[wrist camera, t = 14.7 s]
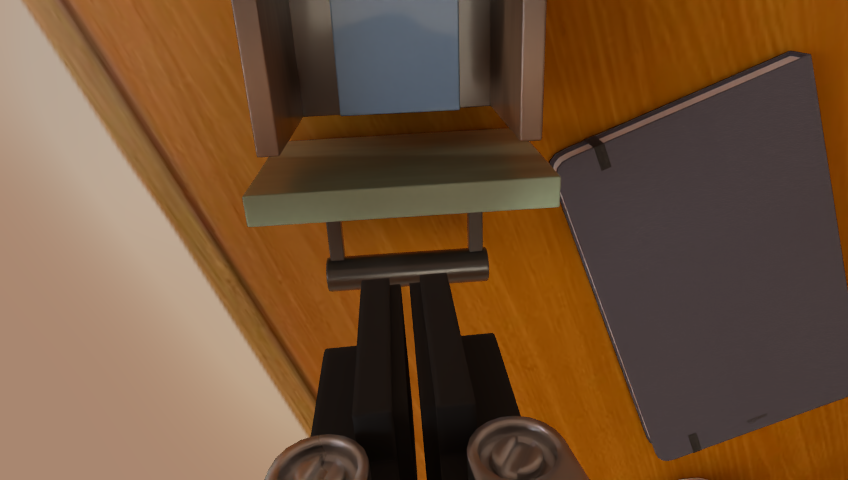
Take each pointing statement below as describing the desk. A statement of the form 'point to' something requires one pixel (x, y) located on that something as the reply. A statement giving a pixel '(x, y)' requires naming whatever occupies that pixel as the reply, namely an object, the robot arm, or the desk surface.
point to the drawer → (394, 138)
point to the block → (396, 55)
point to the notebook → (716, 255)
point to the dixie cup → (694, 479)
